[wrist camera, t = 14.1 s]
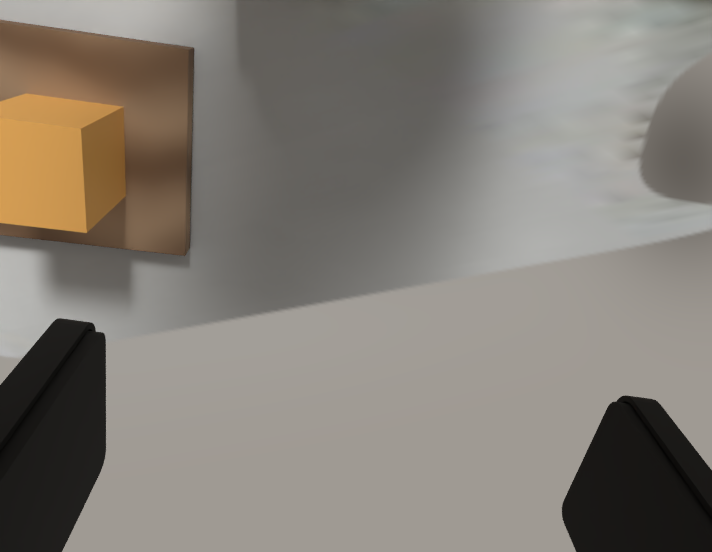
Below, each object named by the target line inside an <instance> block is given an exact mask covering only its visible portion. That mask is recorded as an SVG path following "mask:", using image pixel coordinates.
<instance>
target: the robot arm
mask: <svg viewBox="0 0 712 552" xmlns="http://www.w3.org/2000/svg"><path fill="white" fill-rule="evenodd" d="M105 452H106V340H105V335H104V333H101V332H96V330H95V326H94V324H93V323H90V322H83V321H75V320H68V319H61V318H59V319H56V320H55V321H54V322H53V323H52V324H51V325H50V327H49V328H48V329H47V330H46V331H45V333H44V334H43V335H42V336H41V337H40V338H39V340H38V341H37V342H36V343H35V344H34V346H33V347H32V348H31V349H30V350H29V352H28V353H27V354H26V355H25V356H24V358H23V359H22V360H21V361H20V362H19V364H18V365H17V366H16V367H15V368H14V370H13V371H12V372H11V373H10V374H9V375H8V377H7V378H6V379H5V380H4V381H3V383H2V384H1V385H0V552H62V550H63V548H64V546H65V544H66V542H67V540H68V538H69V536H70V534H71V532H72V530H73V528H74V525H75V523H76V521H77V519H78V517H79V515H80V513H81V511H82V509H83V507H84V505H85V503H86V501H87V499H88V497H89V494H90V492H91V490H92V488H93V486H94V484H95V482H96V480H97V478H98V476H99V474H100V472H101V469H102V466H103V463H104V459H105ZM562 517H563V521H564V524H565V526H566V529H567V531H568V533H569V535H570V538H571V540H572V542H573V545H574V547H575V550H576V552H712V470H711V469H710V468H709V467H708V465H707V464H706V463H705V461H704V460H703V459H702V458H701V456H700V455H699V454H698V452H697V451H696V450H695V449H694V447H693V446H692V445H691V443H690V442H689V441H688V440H687V438H686V437H685V436H684V434H683V433H682V432H681V431H680V429H679V428H678V427H677V425H676V424H675V423H674V422H673V420H672V419H671V418H670V417H669V415H668V414H667V413H666V411H665V410H664V409H663V408H662V406H661V405H660V404H659V403H658V402H657V401H656V400H653V399H647V398H640V397H633V396H622V397H620V398H619V399H618V400H617V402H612V403H611V404H610V405H609V406H608V408H607V410H606V412H605V414H604V416H603V419H602V420H601V423H600V425H599V427H598V429H597V431H596V434H595V435H594V438H593V440H592V442H591V444H590V446H589V448H588V450H587V453H586V455H585V457H584V459H583V461H582V463H581V465H580V467H579V470H578V472H577V474H576V476H575V478H574V480H573V482H572V484H571V486H570V489H569V491H568V493H567V495H566V497H565V499H564V502H563V506H562Z"/></svg>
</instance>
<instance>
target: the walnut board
mask: <svg viewBox="0 0 712 552" xmlns="http://www.w3.org/2000/svg"><path fill="white" fill-rule="evenodd" d="M193 68H194V48H191V47H184V46H177V45H171V44H164V43H157V42H150V41H143V40H136V39H129V38H122V37H115V36H109V35H102V34H95V33H88V32H81V31H74V30H67V29H60V28H53V27H46V26H40V25H33V24H26V23H19V22H12V21H5V20H0V101H3V100H7V99H10V98H13V97H16V96H20V95H23V94H26V93H27V94H34V95H41V96H49V97H56V98H63V99H71V100H78V101H85V102H93V103H100V104H107V105H115V106H122V107H124V141H125V180H126V196H125V197H124V198H123V199H122V200H121V201H120V202H119V203H118V204H117V205H116V206H115V207H114V208H113V209H112V210H111V211H109V212H108V213H107V214H106V215H105V216H104V217H103V218H102V219H101V220H100V221H99V222H98V223H97V224H96V225H95V226H94V227H93V228H92V229H90V230H89V231H88V232H87V233H83V232H74V231H65V230H57V229H48V228H40V227H31V226H23V225H14V224H5V223H0V235H6V236H15V237H23V238H32V239H41V240H50V241H59V242H68V243H76V244H85V245H94V246H103V247H112V248H121V249H130V250H138V251H147V252H156V253H165V254H174V255H183V256H185V255H186V253H187V251H188V250H189V248H190V208H191V161H192V115H193Z"/></svg>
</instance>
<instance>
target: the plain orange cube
mask: <svg viewBox="0 0 712 552" xmlns="http://www.w3.org/2000/svg"><path fill="white" fill-rule="evenodd" d="M125 196H126V180H125V141H124V107H122V106H115V105H107V104H100V103H93V102H85V101H78V100H71V99H63V98H56V97H49V96H41V95H34V94H27V93H26V94H23V95H20V96H16V97H13V98H10V99H7V100H3V101H0V223H5V224H14V225H23V226H31V227H40V228H48V229H57V230H65V231H74V232H83V233H87V232H88V231H89V230H90V229H92V228H93V227H94V226H95V225H96V224H97V223H98V222H99V221H100V220H101V219H102V218H103V217H104V216H105V215H106V214H107V213H108V212H109V211H111V210H112V209H113V208H114V207H115V206H116V205H117V204H118V203H119V202H120V201H121V200H122V199H123V198H124V197H125Z"/></svg>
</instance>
